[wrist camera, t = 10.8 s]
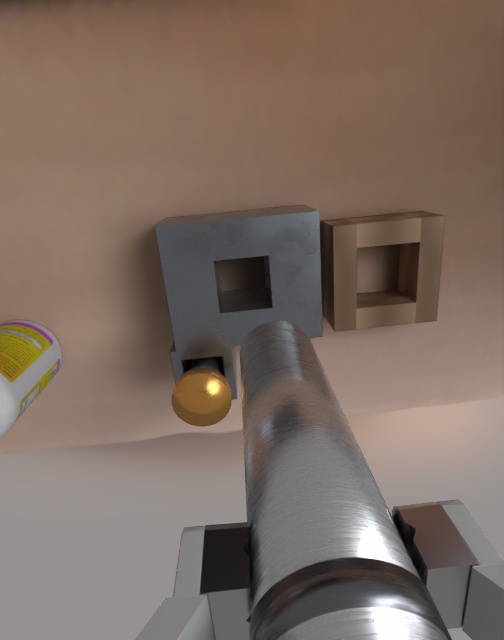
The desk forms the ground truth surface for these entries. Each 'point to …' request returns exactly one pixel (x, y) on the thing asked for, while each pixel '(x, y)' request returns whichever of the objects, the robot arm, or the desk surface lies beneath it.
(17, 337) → the supplement bottle
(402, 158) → the desk surface
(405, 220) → the square frame block
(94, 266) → the desk surface
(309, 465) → the cylindrical peg
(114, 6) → the desk surface
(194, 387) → the gold knob
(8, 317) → the desk surface
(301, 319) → the socket block
